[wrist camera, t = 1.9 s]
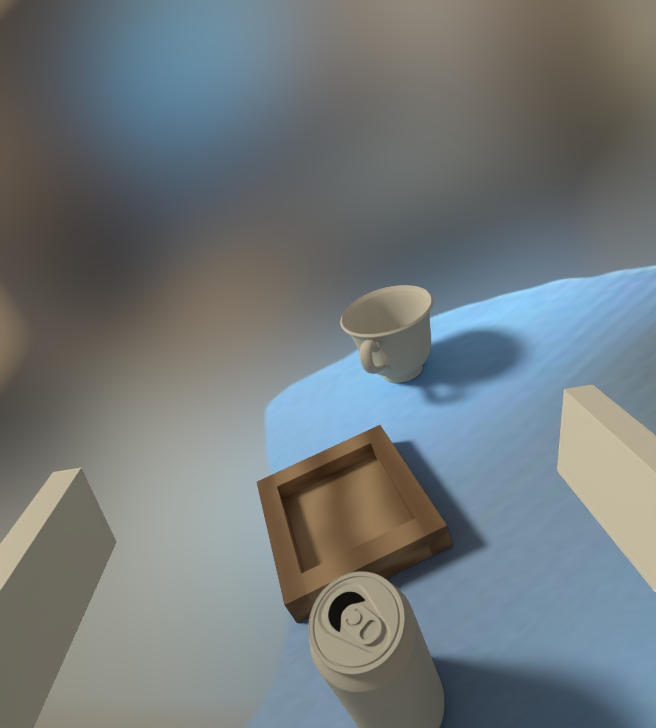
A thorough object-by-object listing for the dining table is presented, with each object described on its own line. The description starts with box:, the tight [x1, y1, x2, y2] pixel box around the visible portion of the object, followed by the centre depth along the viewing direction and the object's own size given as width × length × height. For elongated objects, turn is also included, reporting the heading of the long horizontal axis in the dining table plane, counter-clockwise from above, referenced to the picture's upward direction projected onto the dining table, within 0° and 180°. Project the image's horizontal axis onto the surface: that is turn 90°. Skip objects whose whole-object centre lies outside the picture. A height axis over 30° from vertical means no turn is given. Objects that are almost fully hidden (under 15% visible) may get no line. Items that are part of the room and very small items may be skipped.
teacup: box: [340, 285, 433, 383], centre depth 60 cm, size 12×15×10 cm
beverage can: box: [309, 572, 445, 728], centre depth 29 cm, size 6×6×12 cm
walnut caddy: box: [257, 425, 453, 623], centre depth 46 cm, size 15×15×3 cm
